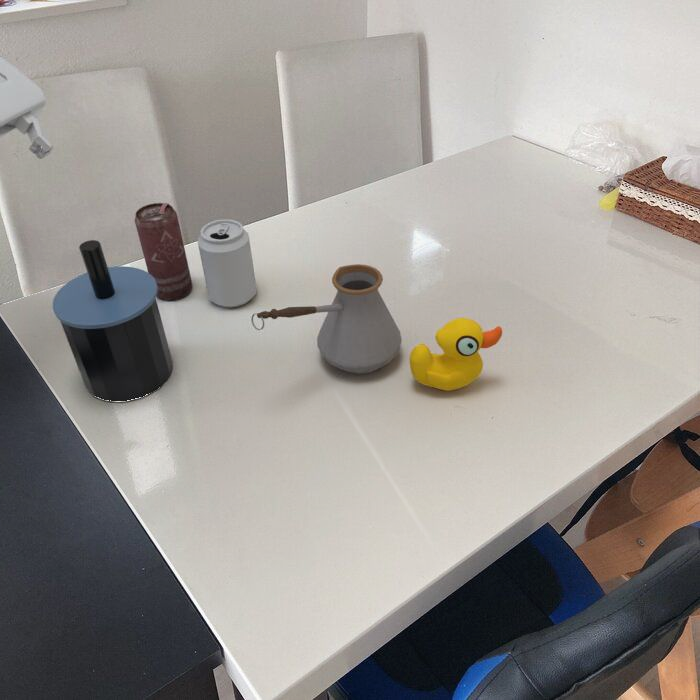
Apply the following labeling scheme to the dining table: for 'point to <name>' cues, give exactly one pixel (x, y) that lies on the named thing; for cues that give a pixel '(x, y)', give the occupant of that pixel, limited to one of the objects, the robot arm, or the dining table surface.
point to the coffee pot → (352, 322)
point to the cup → (123, 356)
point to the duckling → (453, 355)
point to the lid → (103, 292)
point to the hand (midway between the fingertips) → (19, 170)
